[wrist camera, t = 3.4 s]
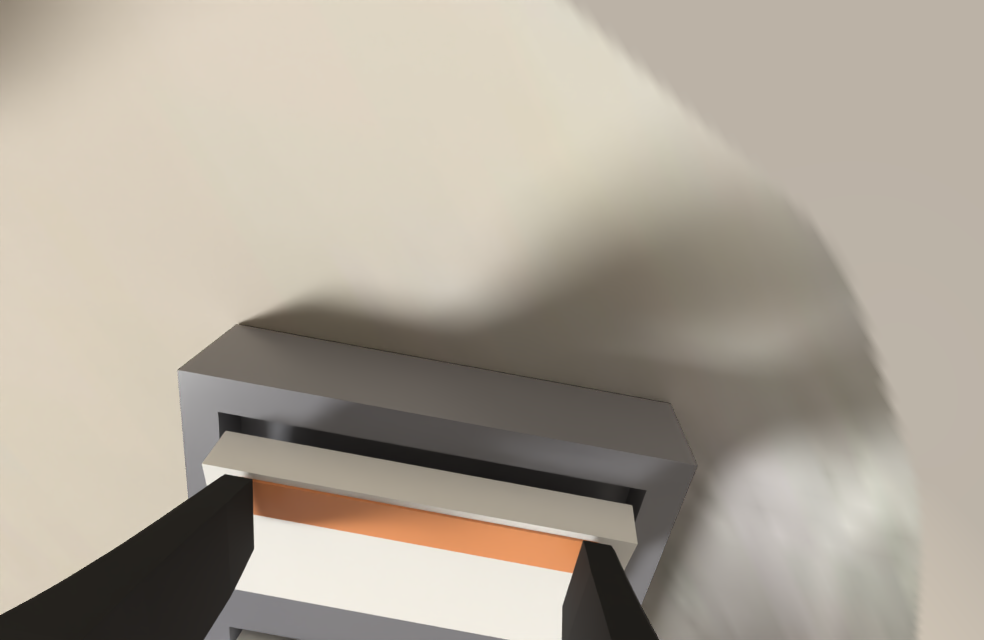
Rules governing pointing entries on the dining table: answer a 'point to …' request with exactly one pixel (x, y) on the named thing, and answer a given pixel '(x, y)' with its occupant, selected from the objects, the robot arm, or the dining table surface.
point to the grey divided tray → (428, 446)
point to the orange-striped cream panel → (260, 636)
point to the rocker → (414, 538)
